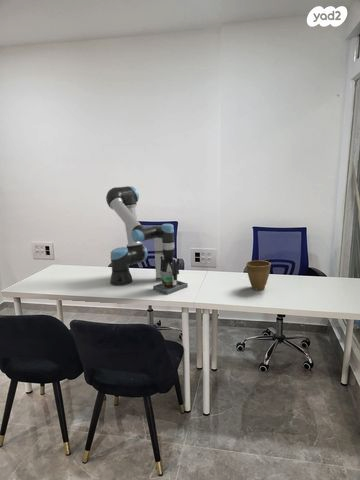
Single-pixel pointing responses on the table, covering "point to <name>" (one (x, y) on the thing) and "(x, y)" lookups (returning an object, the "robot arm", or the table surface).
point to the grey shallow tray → (170, 290)
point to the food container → (167, 278)
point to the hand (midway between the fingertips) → (170, 283)
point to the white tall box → (159, 257)
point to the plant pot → (258, 273)
